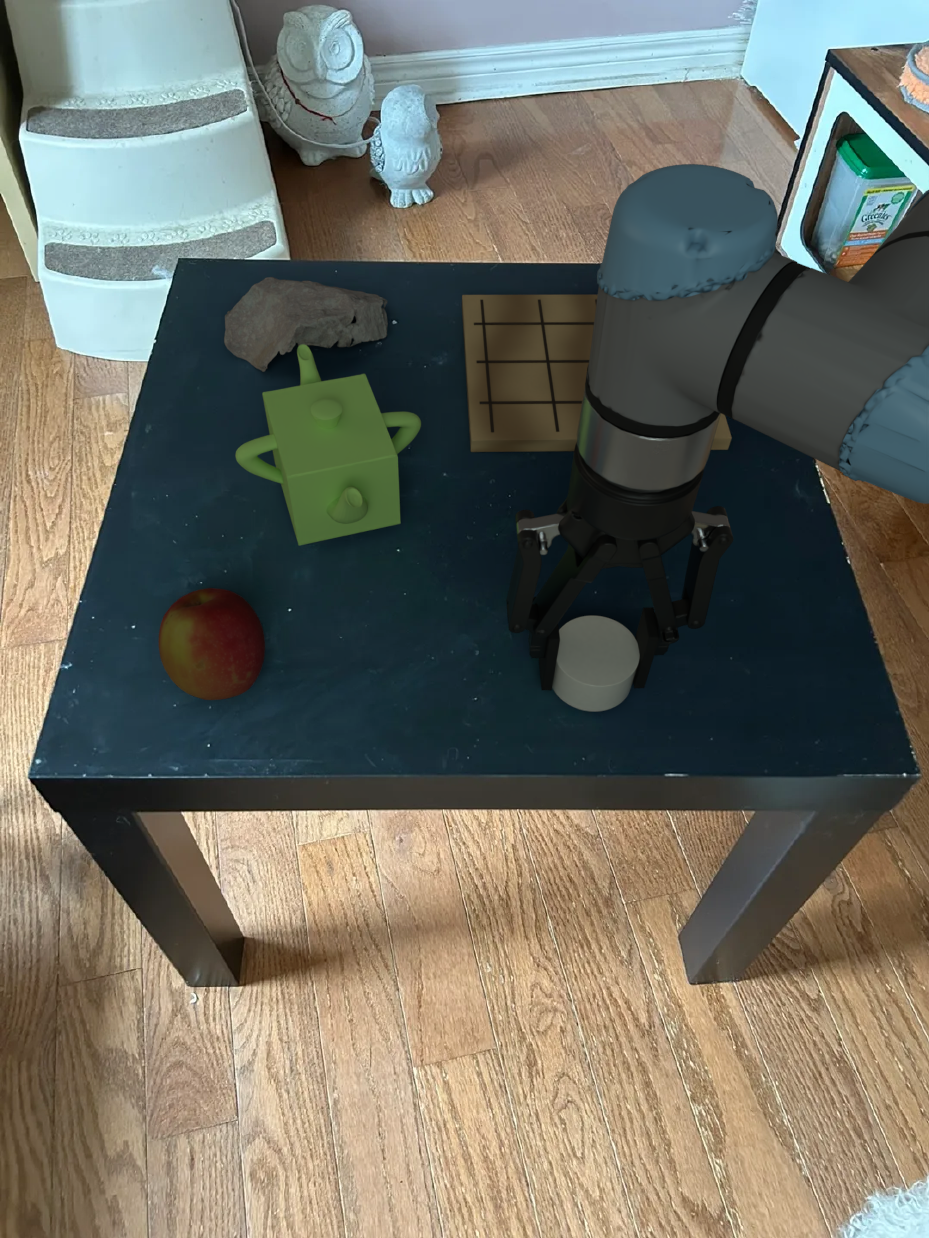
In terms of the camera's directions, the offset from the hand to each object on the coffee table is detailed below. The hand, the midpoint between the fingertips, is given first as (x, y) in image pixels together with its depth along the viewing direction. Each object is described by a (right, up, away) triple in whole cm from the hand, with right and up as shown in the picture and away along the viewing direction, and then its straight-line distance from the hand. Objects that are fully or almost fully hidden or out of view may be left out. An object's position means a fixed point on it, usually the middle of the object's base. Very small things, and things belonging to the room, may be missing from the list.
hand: (591, 674), depth 74 cm
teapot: (-21, +14, +11) cm, 28 cm away
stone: (-26, +32, +24) cm, 48 cm away
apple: (-28, 0, 0) cm, 28 cm away
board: (+2, +29, +22) cm, 36 cm away
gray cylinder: (0, 0, 0) cm, 0 cm away
